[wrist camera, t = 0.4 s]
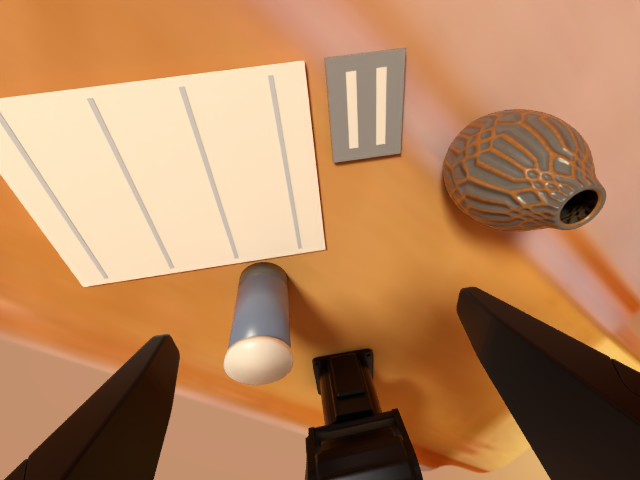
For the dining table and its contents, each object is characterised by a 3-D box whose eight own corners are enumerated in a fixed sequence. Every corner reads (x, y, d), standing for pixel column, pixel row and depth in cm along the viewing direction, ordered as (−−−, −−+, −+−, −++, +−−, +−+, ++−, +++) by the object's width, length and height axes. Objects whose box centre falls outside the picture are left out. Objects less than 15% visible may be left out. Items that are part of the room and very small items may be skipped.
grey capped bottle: (292, 295, 26) (297, 378, 19) (245, 302, 26) (233, 389, 19) (284, 257, 24) (286, 337, 17) (232, 265, 24) (214, 349, 17)
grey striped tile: (398, 151, 20) (400, 153, 20) (332, 160, 20) (333, 163, 20) (403, 48, 17) (406, 48, 16) (324, 57, 17) (325, 57, 16)
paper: (325, 247, 24) (325, 249, 23) (85, 284, 23) (83, 287, 23) (303, 60, 17) (304, 60, 16) (-46, 103, 16) (-51, 104, 15)
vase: (409, 174, 21) (478, 238, 14) (477, 80, 18) (610, 97, 11) (473, 211, 24) (561, 283, 16) (542, 133, 21) (686, 177, 13)
